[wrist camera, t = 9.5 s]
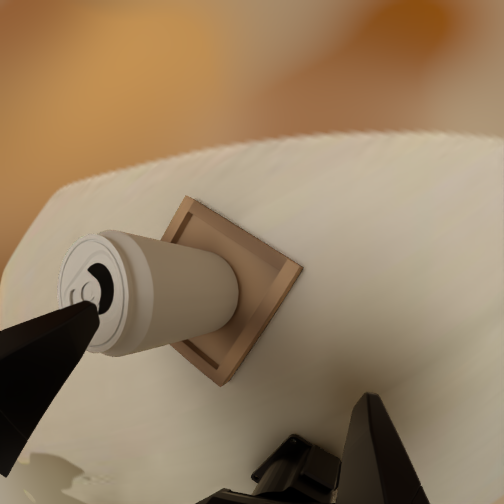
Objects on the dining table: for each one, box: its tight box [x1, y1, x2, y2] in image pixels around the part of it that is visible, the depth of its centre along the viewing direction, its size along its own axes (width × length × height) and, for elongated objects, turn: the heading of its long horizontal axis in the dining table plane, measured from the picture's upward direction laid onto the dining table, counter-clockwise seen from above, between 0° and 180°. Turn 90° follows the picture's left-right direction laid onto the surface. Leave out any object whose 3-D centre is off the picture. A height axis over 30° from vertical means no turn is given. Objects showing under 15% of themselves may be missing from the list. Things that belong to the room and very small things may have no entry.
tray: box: [160, 196, 303, 387], centre depth 23 cm, size 11×11×2 cm
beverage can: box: [57, 230, 239, 357], centre depth 18 cm, size 6×6×12 cm
